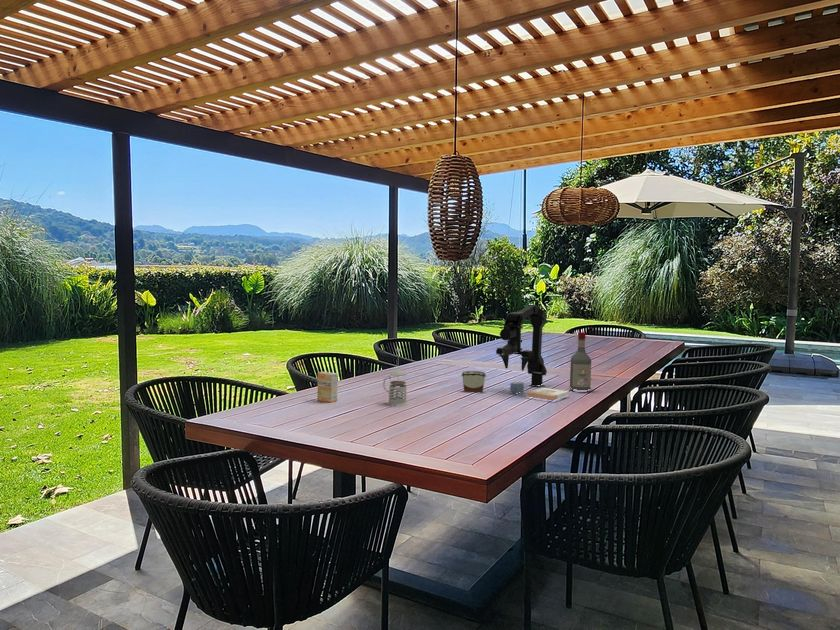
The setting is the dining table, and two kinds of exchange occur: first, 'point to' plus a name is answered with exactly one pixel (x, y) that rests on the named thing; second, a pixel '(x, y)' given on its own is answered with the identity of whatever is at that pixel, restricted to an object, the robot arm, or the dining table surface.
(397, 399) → the french press
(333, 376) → the supplement box
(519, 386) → the block
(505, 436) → the dining table surface
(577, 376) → the liquor
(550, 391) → the chassis plate
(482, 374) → the food container
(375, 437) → the dining table surface
